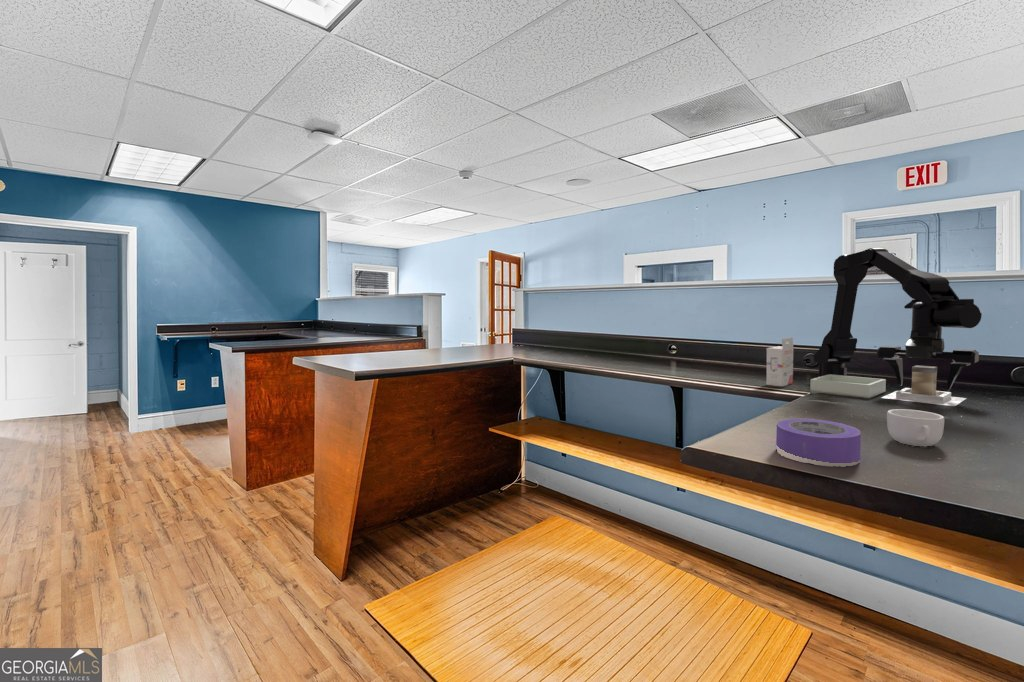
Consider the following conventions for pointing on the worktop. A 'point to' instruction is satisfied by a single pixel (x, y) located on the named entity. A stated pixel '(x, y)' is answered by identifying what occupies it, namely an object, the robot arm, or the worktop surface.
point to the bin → (848, 386)
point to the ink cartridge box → (780, 364)
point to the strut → (924, 380)
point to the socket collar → (925, 397)
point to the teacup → (915, 427)
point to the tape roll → (819, 440)
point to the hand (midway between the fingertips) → (923, 387)
